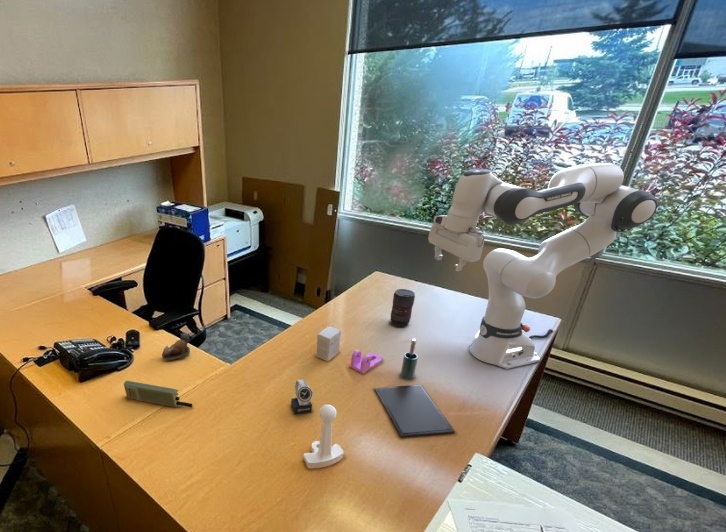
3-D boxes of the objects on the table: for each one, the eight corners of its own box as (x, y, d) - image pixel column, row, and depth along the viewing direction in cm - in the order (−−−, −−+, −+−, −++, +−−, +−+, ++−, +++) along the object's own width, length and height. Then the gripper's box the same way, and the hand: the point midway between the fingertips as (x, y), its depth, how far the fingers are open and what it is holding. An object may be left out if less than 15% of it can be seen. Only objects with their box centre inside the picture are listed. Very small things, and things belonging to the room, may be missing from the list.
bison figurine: (163, 364, 163) (160, 343, 158) (161, 355, 169) (157, 334, 164) (193, 358, 166) (190, 337, 161) (189, 349, 172) (187, 328, 167)
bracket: (362, 374, 150) (364, 358, 147) (350, 367, 154) (352, 352, 151) (384, 360, 157) (386, 345, 153) (371, 354, 161) (373, 339, 157)
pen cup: (410, 372, 150) (414, 351, 145) (415, 379, 146) (420, 358, 141) (398, 373, 150) (402, 352, 145) (403, 380, 146) (407, 359, 141)
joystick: (310, 471, 115) (313, 417, 105) (297, 451, 121) (299, 399, 111) (345, 460, 117) (351, 406, 107) (331, 441, 124) (336, 389, 114)
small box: (327, 347, 166) (328, 325, 161) (339, 352, 163) (341, 330, 158) (315, 356, 162) (317, 333, 156) (328, 361, 158) (329, 338, 153)
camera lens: (412, 328, 175) (418, 296, 168) (393, 328, 175) (398, 297, 168) (405, 318, 182) (411, 287, 175) (386, 319, 182) (391, 288, 175)
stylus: (408, 373, 148) (415, 338, 141) (410, 376, 147) (417, 340, 139) (404, 374, 148) (411, 338, 141) (406, 376, 147) (412, 341, 139)
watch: (296, 418, 133) (297, 392, 127) (289, 402, 140) (290, 376, 134) (313, 416, 133) (315, 389, 128) (305, 399, 140) (306, 374, 135)
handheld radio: (130, 393, 149) (194, 405, 142) (126, 399, 147) (190, 411, 139) (127, 378, 146) (192, 390, 138) (122, 384, 143) (188, 396, 135)
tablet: (420, 386, 143) (420, 384, 142) (454, 433, 123) (454, 430, 123) (374, 390, 142) (374, 388, 142) (401, 437, 123) (401, 435, 123)
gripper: (494, 233, 122) (478, 276, 128) (447, 214, 139) (435, 254, 146) (476, 233, 120) (461, 277, 127) (430, 215, 138) (419, 254, 144)
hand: (447, 264), depth 136 cm, fingers open, 8 cm apart
